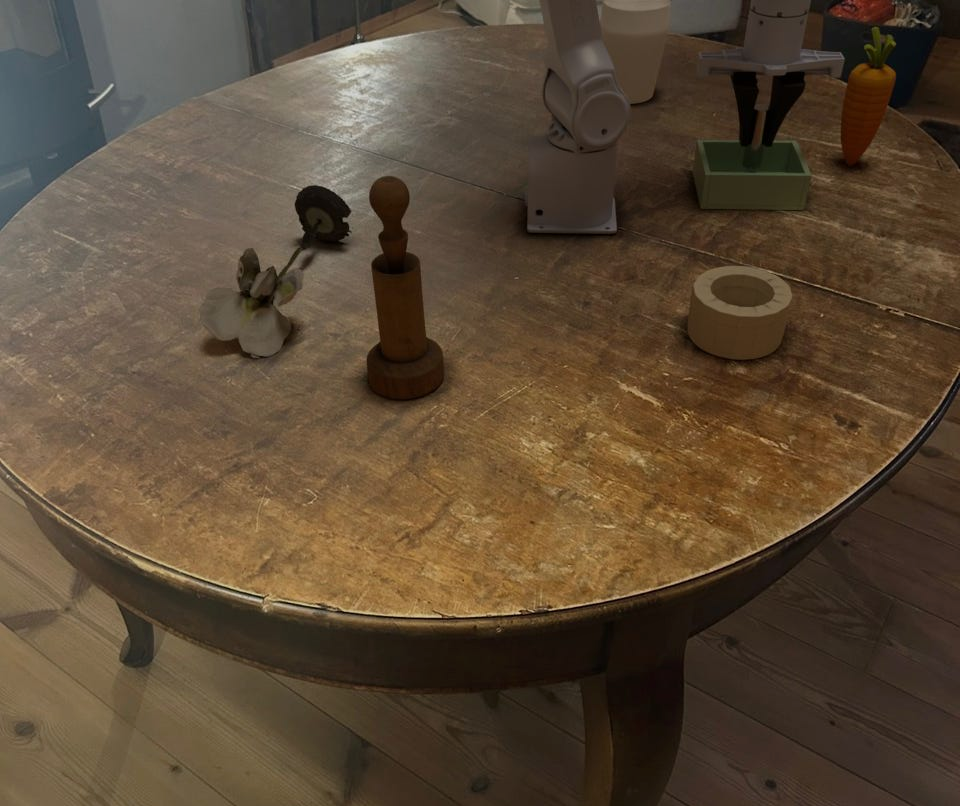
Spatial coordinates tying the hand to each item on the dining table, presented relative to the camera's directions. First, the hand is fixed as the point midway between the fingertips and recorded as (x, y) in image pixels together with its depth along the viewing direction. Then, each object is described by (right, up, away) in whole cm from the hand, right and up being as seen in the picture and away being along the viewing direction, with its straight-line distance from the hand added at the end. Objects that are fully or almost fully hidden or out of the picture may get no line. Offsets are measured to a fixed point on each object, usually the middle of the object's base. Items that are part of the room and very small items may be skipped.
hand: (754, 143), depth 101 cm
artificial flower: (-49, -19, -10) cm, 53 cm away
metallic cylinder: (0, -4, +3) cm, 5 cm away
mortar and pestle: (-37, -28, -21) cm, 51 cm away
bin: (0, -4, +4) cm, 6 cm away
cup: (-10, +16, +26) cm, 32 cm away
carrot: (+14, 0, +8) cm, 16 cm away
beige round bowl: (-7, -24, -17) cm, 30 cm away
